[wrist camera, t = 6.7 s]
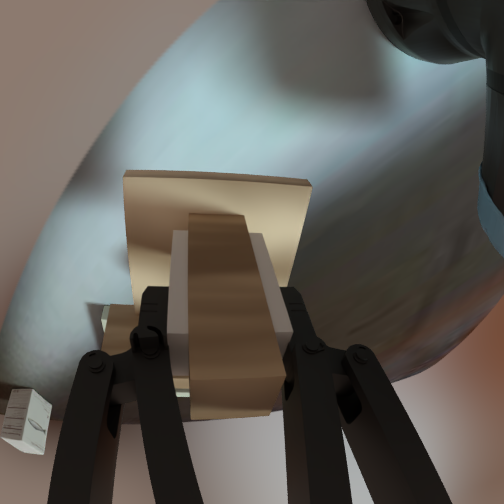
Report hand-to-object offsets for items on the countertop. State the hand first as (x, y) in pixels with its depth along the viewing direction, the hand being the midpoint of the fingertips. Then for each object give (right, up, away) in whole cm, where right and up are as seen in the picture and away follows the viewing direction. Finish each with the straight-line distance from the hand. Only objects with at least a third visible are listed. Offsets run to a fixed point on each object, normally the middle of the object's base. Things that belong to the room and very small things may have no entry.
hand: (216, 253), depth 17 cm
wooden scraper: (-1, 0, +3) cm, 3 cm away
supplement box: (-45, -31, +35) cm, 65 cm away
